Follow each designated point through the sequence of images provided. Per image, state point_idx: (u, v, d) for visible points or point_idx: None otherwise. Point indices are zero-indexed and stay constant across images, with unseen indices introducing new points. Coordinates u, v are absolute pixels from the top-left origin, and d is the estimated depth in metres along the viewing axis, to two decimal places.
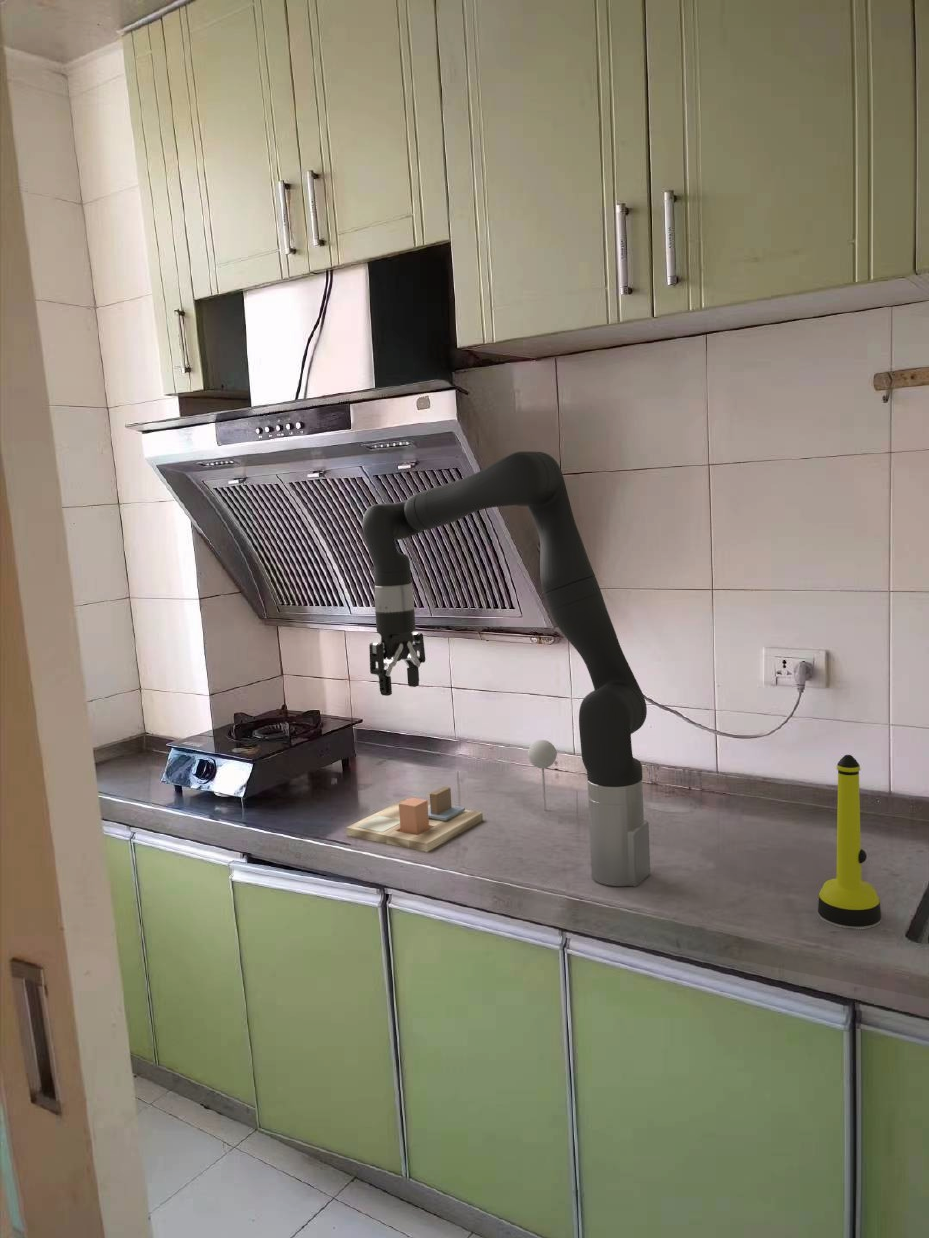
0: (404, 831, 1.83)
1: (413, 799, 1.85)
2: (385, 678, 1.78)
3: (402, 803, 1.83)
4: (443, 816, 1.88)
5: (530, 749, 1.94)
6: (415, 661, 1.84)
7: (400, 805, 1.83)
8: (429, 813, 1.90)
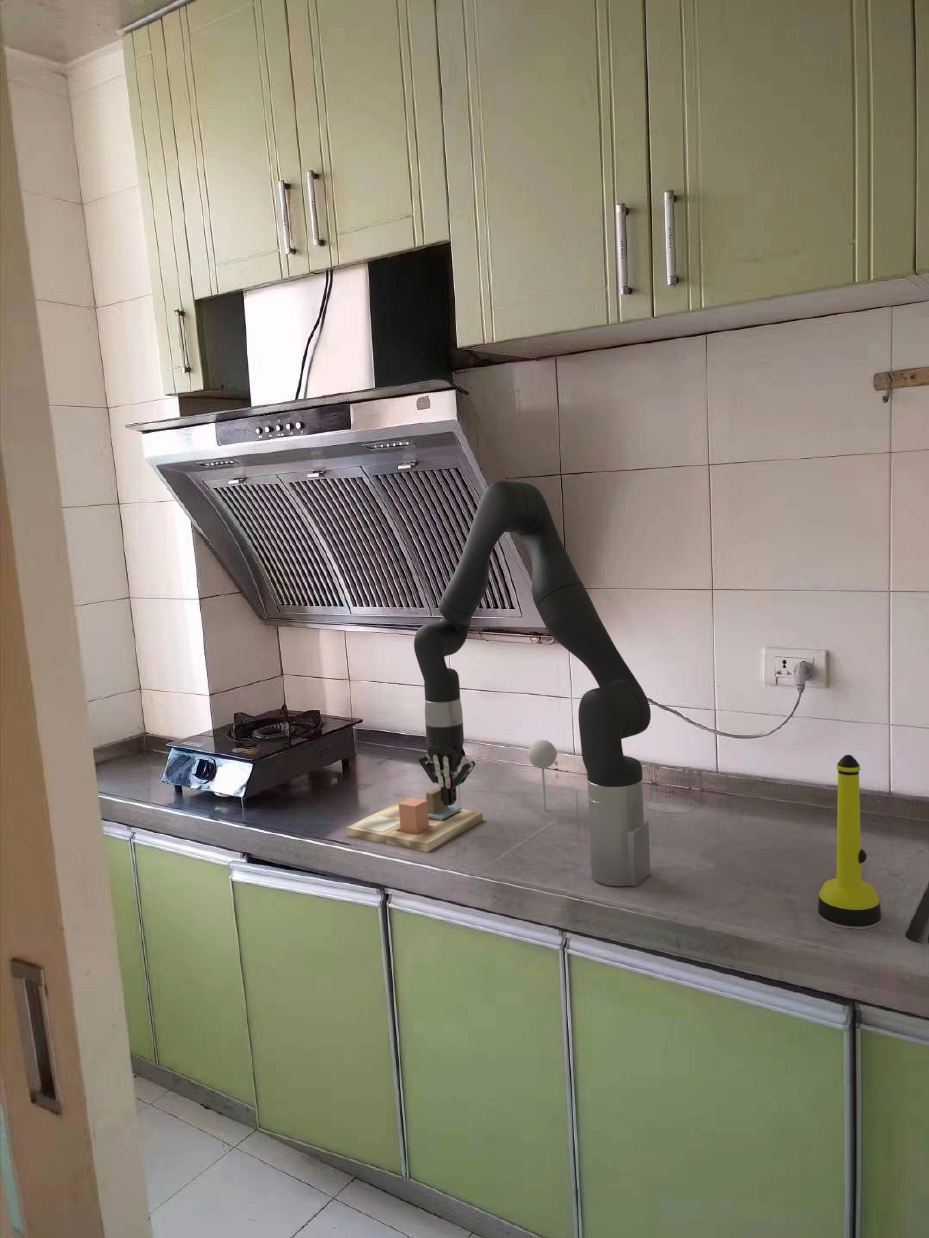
0: (404, 831, 1.83)
1: (413, 799, 1.85)
2: None
3: (402, 803, 1.83)
4: (439, 815, 1.88)
5: (530, 749, 1.94)
6: None
7: (400, 805, 1.83)
8: None
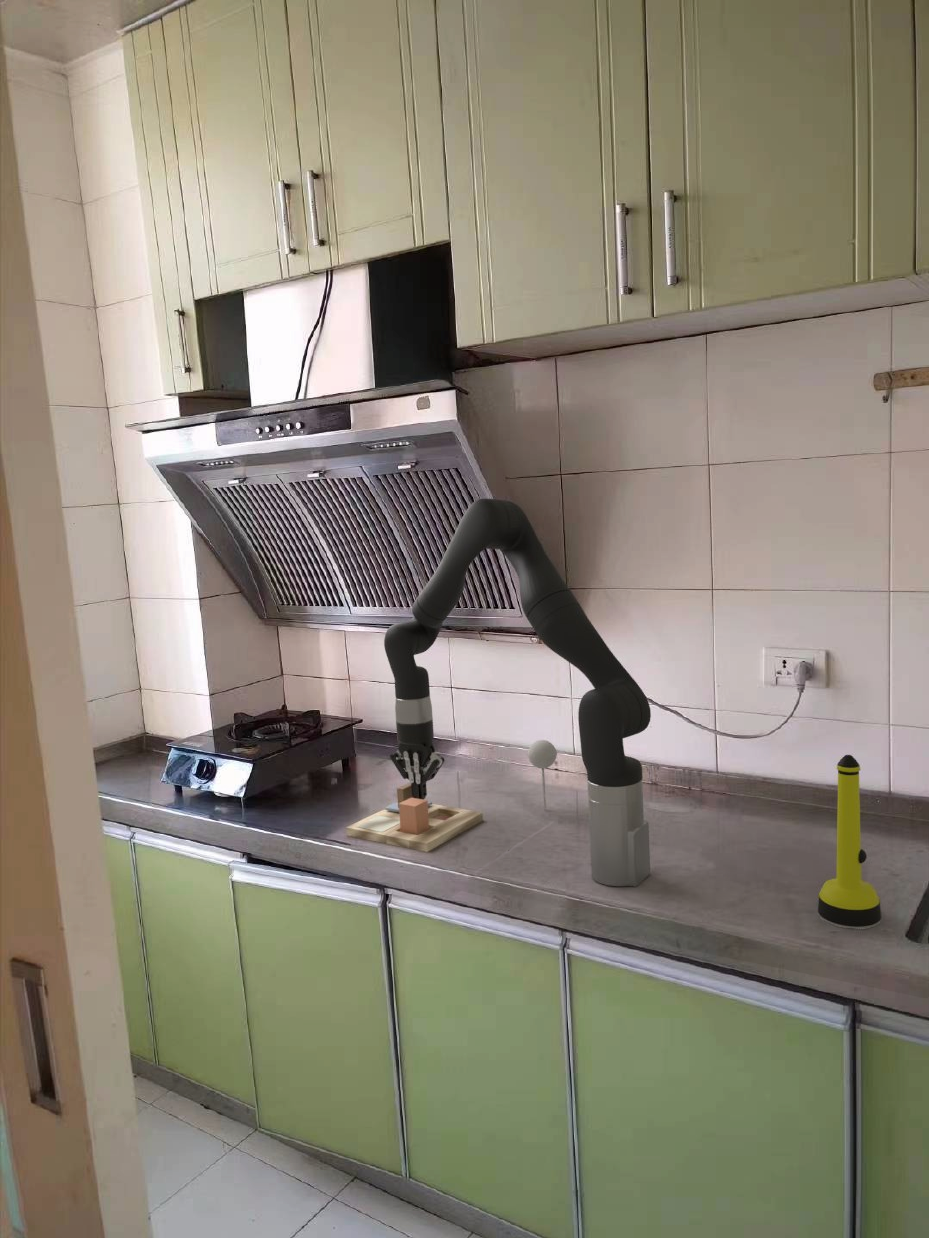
0: (404, 831, 1.83)
1: (413, 799, 1.85)
2: None
3: (402, 803, 1.83)
4: None
5: (530, 749, 1.94)
6: None
7: (400, 805, 1.83)
8: (396, 807, 1.95)
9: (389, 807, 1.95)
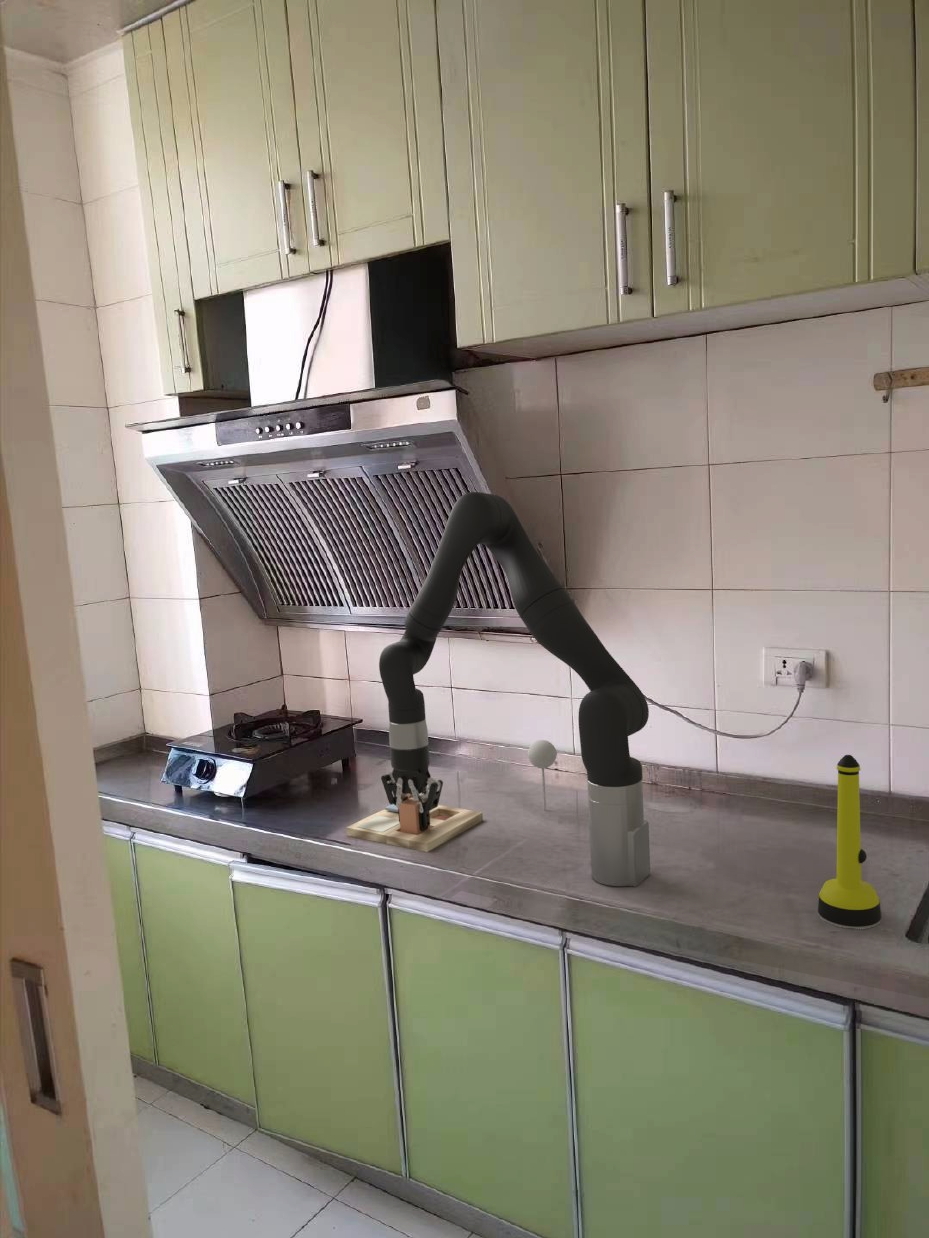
0: (404, 831, 1.83)
1: (413, 799, 1.85)
2: None
3: (402, 803, 1.83)
4: None
5: (530, 749, 1.94)
6: None
7: (400, 805, 1.83)
8: (396, 807, 1.95)
9: (389, 807, 1.95)
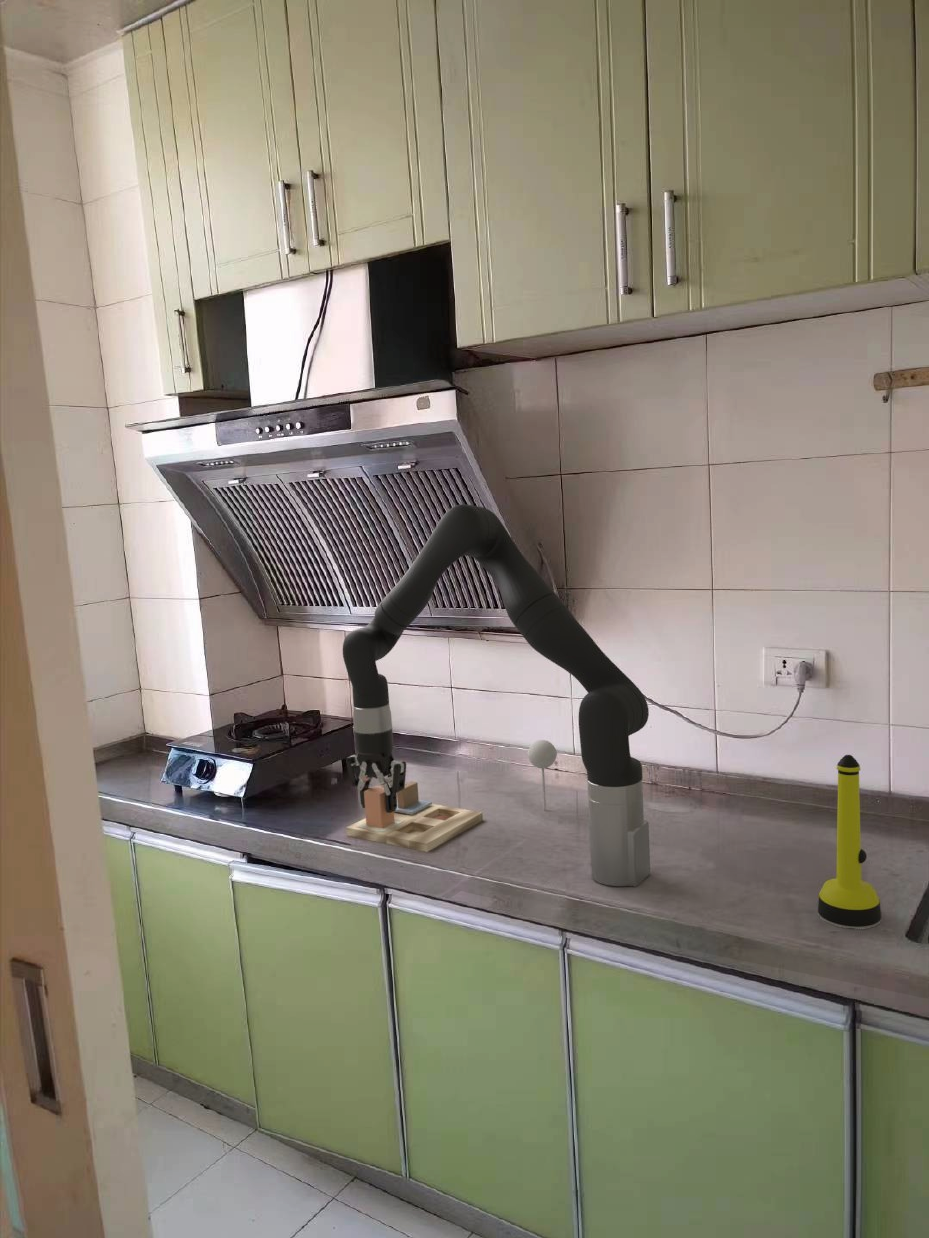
0: (369, 818, 1.87)
1: (378, 787, 1.89)
2: None
3: (367, 791, 1.87)
4: (409, 810, 1.93)
5: (530, 749, 1.94)
6: None
7: (365, 793, 1.86)
8: None
9: None
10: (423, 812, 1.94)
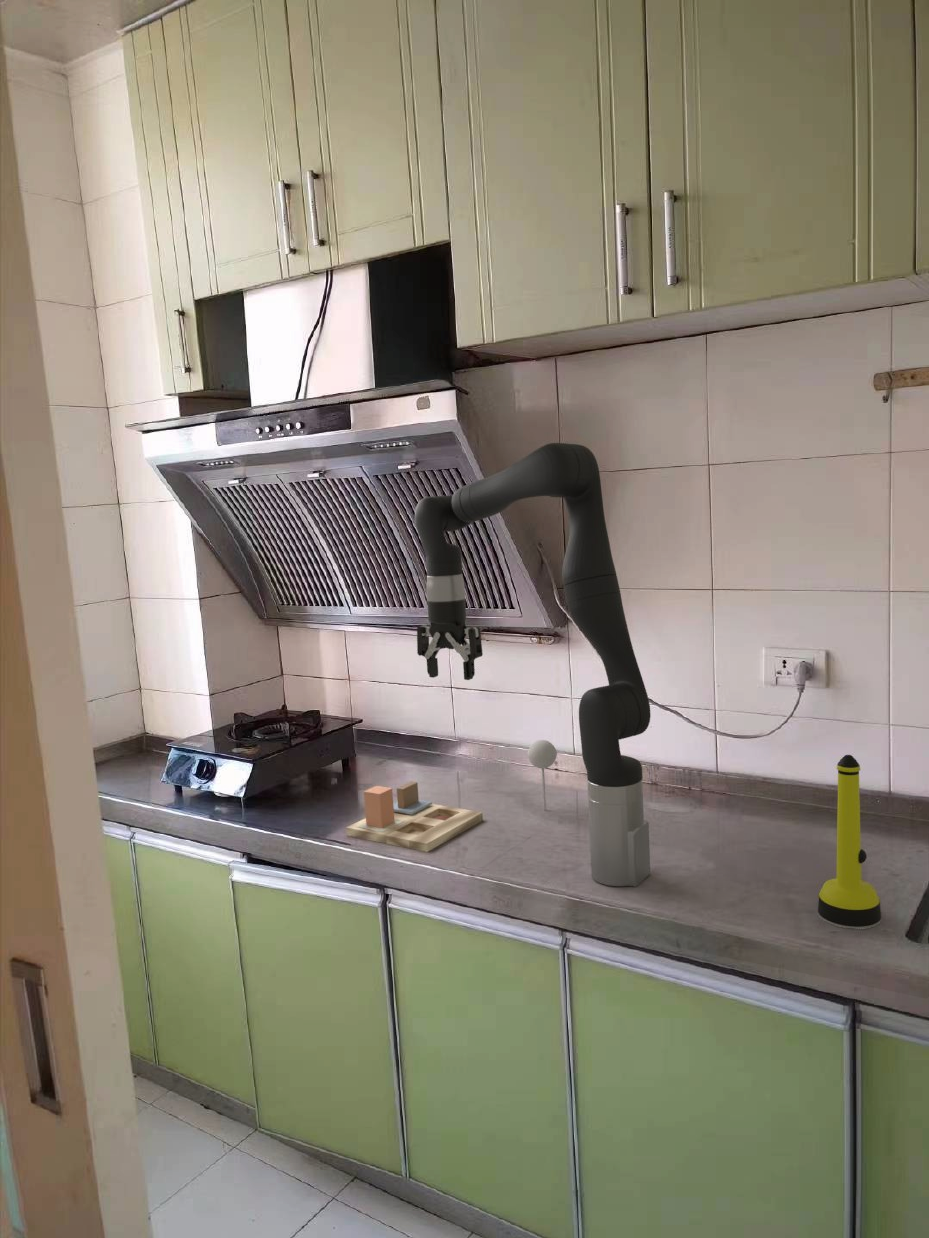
0: (369, 818, 1.87)
1: (378, 787, 1.89)
2: None
3: (367, 791, 1.87)
4: (409, 810, 1.93)
5: (530, 749, 1.94)
6: None
7: (365, 793, 1.86)
8: (396, 807, 1.95)
9: None
10: (423, 812, 1.94)
